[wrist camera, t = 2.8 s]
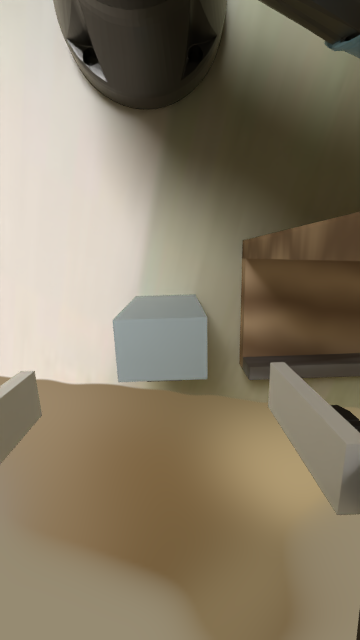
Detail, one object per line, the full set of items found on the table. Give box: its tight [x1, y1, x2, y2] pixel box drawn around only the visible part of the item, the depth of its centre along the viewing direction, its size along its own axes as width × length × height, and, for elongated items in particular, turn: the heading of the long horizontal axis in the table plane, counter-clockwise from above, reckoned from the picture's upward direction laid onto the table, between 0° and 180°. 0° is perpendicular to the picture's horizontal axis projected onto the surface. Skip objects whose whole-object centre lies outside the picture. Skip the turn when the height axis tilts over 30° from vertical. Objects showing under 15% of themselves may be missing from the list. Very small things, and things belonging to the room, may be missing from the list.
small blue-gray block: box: [113, 295, 207, 382], centre depth 26 cm, size 6×7×12 cm
